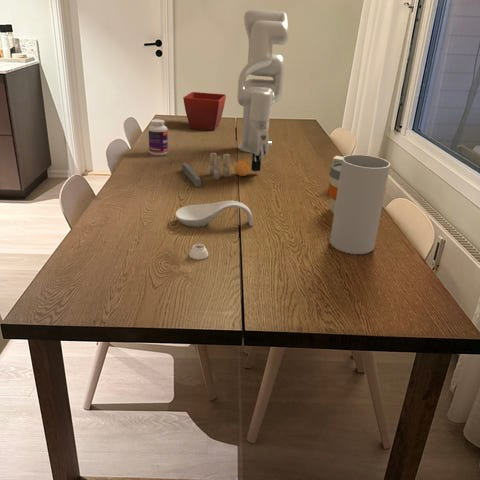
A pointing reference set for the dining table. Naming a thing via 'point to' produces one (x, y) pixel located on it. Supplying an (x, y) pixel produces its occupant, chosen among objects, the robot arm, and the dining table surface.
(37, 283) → the dining table surface
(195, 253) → the white jar
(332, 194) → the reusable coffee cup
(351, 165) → the cylinder vase
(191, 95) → the plant pot
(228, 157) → the front pin
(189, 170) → the back wall
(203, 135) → the dining table surface
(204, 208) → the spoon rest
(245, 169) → the ball
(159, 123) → the pill bottle
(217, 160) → the back left pin
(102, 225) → the dining table surface
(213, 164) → the back right pin
